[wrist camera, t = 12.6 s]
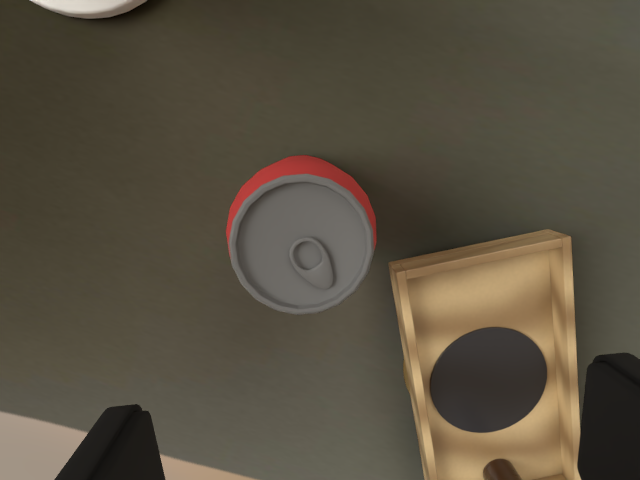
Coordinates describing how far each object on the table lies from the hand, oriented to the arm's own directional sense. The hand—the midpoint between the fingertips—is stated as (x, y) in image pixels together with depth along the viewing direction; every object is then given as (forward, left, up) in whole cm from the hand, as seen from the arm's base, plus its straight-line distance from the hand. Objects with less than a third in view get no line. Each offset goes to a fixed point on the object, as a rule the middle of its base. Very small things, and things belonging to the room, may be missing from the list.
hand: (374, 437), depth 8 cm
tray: (+11, -11, -18) cm, 23 cm away
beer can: (-1, +2, -19) cm, 20 cm away
